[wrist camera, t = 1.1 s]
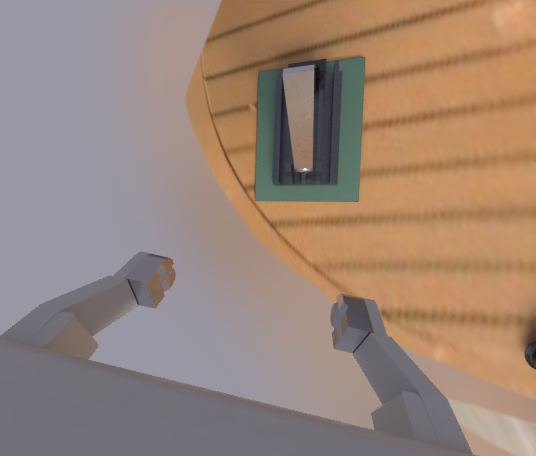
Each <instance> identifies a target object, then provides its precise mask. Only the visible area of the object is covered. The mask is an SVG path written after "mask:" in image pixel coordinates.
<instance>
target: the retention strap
mask: <svg viewBox="0 0 536 456" xmlns="http://www.w3.org/2000/svg"><path fill="white" fill-rule="evenodd" d="M283 82H284V90H285V98H286V106H287V114H288V122H289V129H290V137H291V145H292V153H293V161H294V169H295V172H312V170H313V121H314V65H308V66H301V67H294V68H287V69H283Z"/></svg>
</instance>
